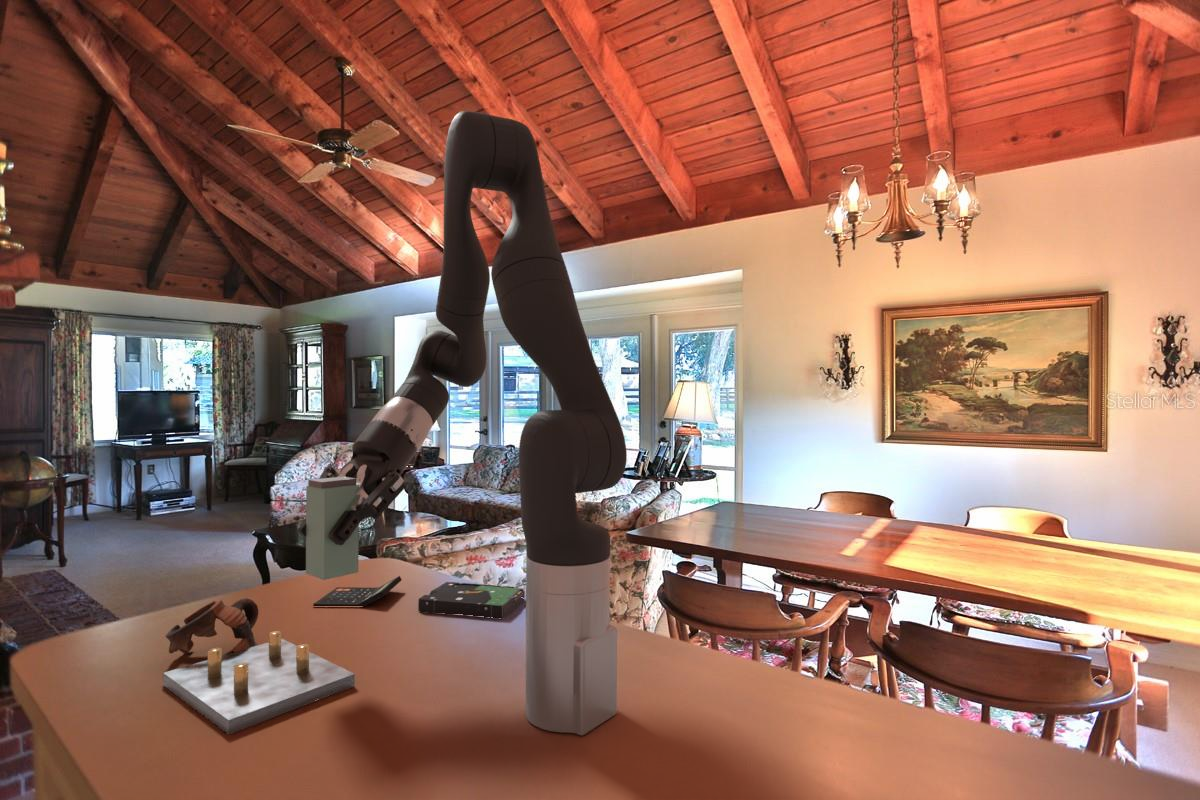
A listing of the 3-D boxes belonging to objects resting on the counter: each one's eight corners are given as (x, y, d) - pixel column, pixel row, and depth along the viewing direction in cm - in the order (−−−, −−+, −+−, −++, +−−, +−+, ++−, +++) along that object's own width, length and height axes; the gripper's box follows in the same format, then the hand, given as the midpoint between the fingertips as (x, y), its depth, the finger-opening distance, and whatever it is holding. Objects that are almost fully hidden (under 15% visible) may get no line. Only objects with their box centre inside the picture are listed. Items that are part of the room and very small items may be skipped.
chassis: (354, 686, 76) (354, 648, 76) (228, 734, 64) (228, 690, 64) (281, 649, 87) (281, 616, 87) (163, 685, 75) (163, 647, 76)
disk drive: (417, 616, 102) (504, 622, 99) (417, 599, 102) (504, 604, 99) (445, 597, 112) (525, 602, 109) (445, 581, 112) (525, 585, 109)
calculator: (337, 592, 114) (337, 575, 114) (401, 592, 114) (401, 575, 114) (313, 609, 104) (313, 590, 104) (383, 609, 104) (383, 591, 104)
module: (358, 572, 80) (359, 478, 80) (323, 580, 77) (324, 482, 77) (340, 566, 83) (340, 476, 83) (305, 573, 79) (305, 479, 79)
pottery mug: (232, 676, 79) (194, 623, 78) (178, 700, 82) (140, 649, 80) (289, 619, 91) (257, 572, 90) (240, 642, 93) (208, 597, 92)
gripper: (343, 417, 90) (262, 515, 79) (417, 419, 83) (340, 527, 72) (373, 452, 94) (300, 549, 84) (446, 456, 87) (376, 563, 77)
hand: (319, 538), depth 78 cm, fingers closed on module, 5 cm apart
